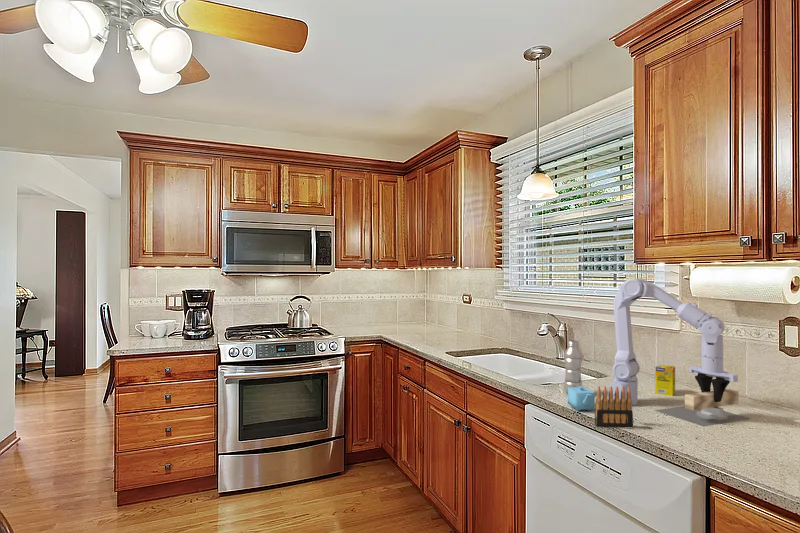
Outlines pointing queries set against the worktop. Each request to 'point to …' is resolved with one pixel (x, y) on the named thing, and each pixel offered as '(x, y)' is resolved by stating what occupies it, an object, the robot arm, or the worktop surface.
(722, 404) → the maple batten
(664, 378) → the supplement box
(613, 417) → the ammunition clip
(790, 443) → the worktop surface
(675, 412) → the charcoal board
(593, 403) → the teapot
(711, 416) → the steel ridge
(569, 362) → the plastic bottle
